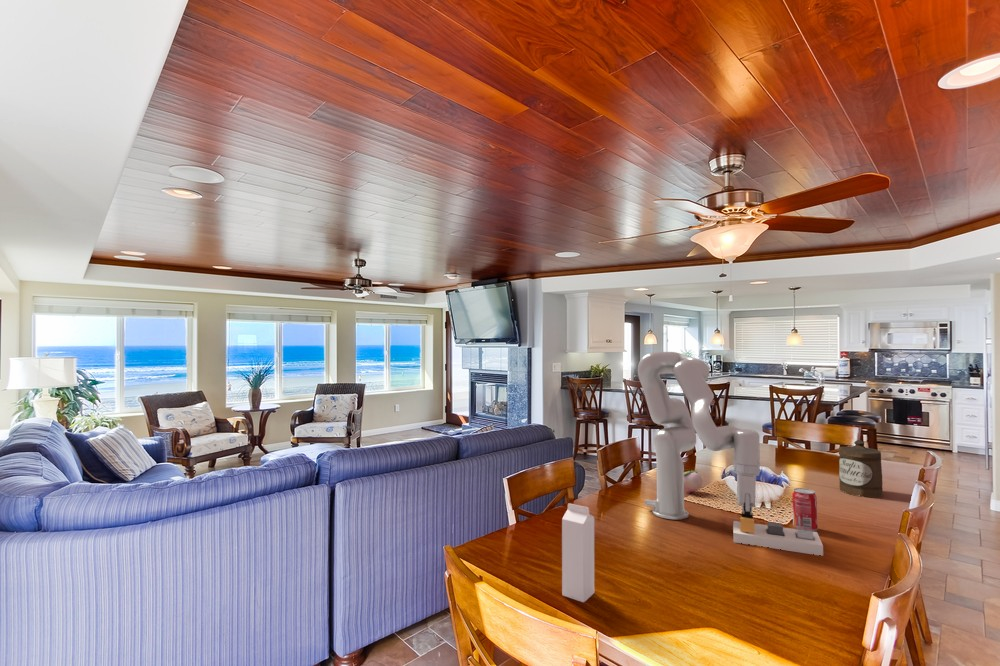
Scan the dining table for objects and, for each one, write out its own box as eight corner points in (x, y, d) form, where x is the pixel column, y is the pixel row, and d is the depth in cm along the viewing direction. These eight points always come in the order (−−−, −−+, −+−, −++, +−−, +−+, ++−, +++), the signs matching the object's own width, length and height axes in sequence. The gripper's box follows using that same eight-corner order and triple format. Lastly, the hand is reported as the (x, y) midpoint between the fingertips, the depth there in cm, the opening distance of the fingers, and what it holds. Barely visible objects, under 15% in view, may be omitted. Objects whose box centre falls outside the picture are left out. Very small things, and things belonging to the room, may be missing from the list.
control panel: (733, 542, 157) (733, 532, 157) (733, 529, 168) (733, 520, 168) (823, 556, 147) (823, 545, 147) (817, 541, 158) (816, 532, 158)
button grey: (797, 541, 153) (797, 529, 153) (796, 536, 156) (796, 525, 157) (813, 543, 151) (813, 531, 151) (811, 538, 155) (811, 527, 155)
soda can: (821, 533, 164) (820, 494, 164) (797, 532, 166) (797, 492, 166) (812, 526, 171) (811, 488, 171) (789, 524, 172) (789, 487, 173)
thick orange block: (740, 539, 157) (740, 518, 158) (740, 537, 159) (740, 516, 159) (754, 541, 156) (754, 520, 156) (754, 539, 157) (754, 518, 157)
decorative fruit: (695, 497, 204) (695, 472, 204) (676, 492, 210) (676, 469, 210) (706, 492, 210) (706, 469, 210) (687, 488, 216) (687, 465, 216)
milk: (573, 586, 128) (573, 499, 129) (595, 593, 124) (594, 504, 125) (561, 595, 123) (561, 505, 124) (583, 603, 119) (583, 510, 120)
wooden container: (831, 489, 215) (831, 438, 215) (852, 485, 221) (851, 436, 222) (869, 499, 201) (868, 445, 202) (890, 495, 208) (889, 442, 208)
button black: (768, 536, 156) (768, 525, 156) (767, 532, 160) (767, 521, 160) (783, 538, 155) (782, 527, 155) (781, 534, 158) (781, 523, 158)
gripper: (733, 462, 169) (734, 517, 168) (734, 472, 155) (734, 532, 155) (758, 464, 166) (758, 520, 165) (761, 475, 152) (761, 535, 152)
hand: (747, 525), depth 160 cm, fingers closed
